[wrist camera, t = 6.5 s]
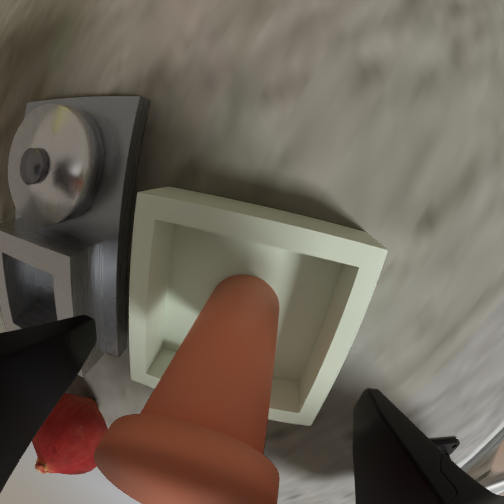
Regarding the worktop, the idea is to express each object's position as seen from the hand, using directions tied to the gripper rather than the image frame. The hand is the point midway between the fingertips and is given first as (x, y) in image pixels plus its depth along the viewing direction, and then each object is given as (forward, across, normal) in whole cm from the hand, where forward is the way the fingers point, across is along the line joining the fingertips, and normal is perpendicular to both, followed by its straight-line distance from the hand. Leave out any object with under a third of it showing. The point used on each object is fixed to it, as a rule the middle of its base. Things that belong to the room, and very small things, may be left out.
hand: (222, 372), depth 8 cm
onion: (+5, +9, +12) cm, 16 cm away
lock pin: (+4, 0, 0) cm, 4 cm away
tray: (+5, 0, 0) cm, 5 cm away
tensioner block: (+5, +10, -2) cm, 11 cm away
